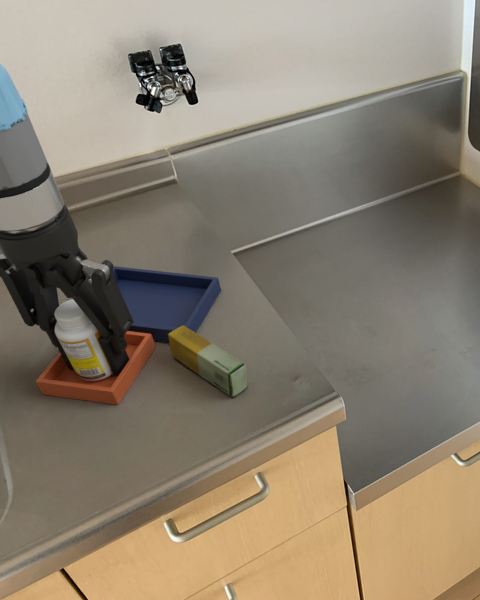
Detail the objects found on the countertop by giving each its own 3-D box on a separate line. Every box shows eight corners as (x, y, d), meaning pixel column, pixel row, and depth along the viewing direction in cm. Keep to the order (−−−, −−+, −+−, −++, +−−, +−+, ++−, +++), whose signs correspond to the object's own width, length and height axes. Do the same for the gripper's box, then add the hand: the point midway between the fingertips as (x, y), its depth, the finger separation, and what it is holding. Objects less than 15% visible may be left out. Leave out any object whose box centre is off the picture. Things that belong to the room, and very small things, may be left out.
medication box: (249, 387, 78) (247, 364, 75) (233, 399, 76) (230, 375, 74) (186, 345, 83) (182, 323, 81) (170, 356, 81) (165, 333, 79)
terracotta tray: (43, 394, 77) (35, 381, 75) (87, 338, 84) (80, 325, 83) (118, 405, 76) (112, 391, 74) (156, 346, 83) (151, 333, 81)
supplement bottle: (111, 345, 82) (86, 287, 76) (129, 368, 79) (104, 309, 73) (70, 366, 80) (39, 308, 73) (86, 390, 76) (56, 331, 70)
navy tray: (76, 331, 85) (69, 317, 84) (118, 278, 94) (113, 265, 92) (188, 344, 83) (184, 331, 82) (221, 290, 92) (218, 277, 90)
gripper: (128, 203, 66) (179, 353, 81) (-28, 189, 68) (51, 337, 83) (90, 244, 60) (153, 396, 75) (-78, 226, 62) (16, 378, 78)
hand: (99, 365), depth 79 cm, fingers closed on supplement bottle, 6 cm apart
